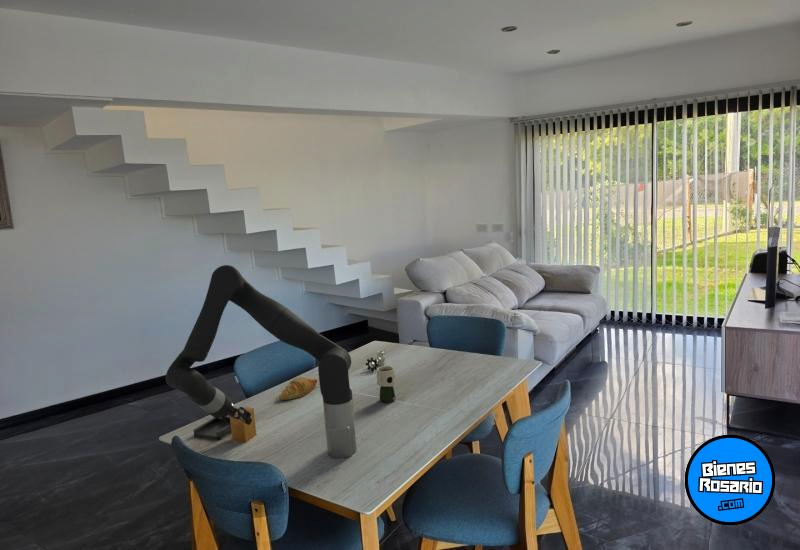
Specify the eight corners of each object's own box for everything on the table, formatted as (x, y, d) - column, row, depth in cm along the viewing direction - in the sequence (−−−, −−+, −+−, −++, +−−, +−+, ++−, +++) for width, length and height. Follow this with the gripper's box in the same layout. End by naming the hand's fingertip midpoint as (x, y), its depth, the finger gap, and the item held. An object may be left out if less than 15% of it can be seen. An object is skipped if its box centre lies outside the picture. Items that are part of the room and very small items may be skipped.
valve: (377, 363, 264) (365, 371, 253) (376, 350, 263) (364, 357, 252) (389, 364, 262) (378, 372, 251) (388, 350, 261) (377, 358, 250)
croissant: (285, 411, 220) (290, 396, 217) (269, 397, 224) (273, 381, 221) (321, 393, 237) (326, 378, 234) (305, 379, 241) (310, 365, 238)
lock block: (246, 442, 185) (242, 414, 184) (232, 441, 187) (229, 413, 186) (256, 434, 191) (254, 407, 190) (243, 433, 193) (240, 406, 191)
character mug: (387, 406, 209) (385, 374, 207) (372, 403, 213) (369, 371, 211) (402, 397, 218) (400, 365, 216) (387, 394, 222) (385, 363, 220)
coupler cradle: (219, 440, 189) (217, 420, 188) (194, 436, 192) (191, 417, 191) (246, 422, 202) (244, 403, 201) (221, 419, 206) (219, 401, 205)
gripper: (236, 392, 174) (261, 412, 186) (200, 389, 179) (226, 409, 191) (227, 414, 170) (253, 433, 182) (191, 410, 175) (218, 429, 187)
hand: (239, 421), depth 186 cm, fingers open, 8 cm apart
